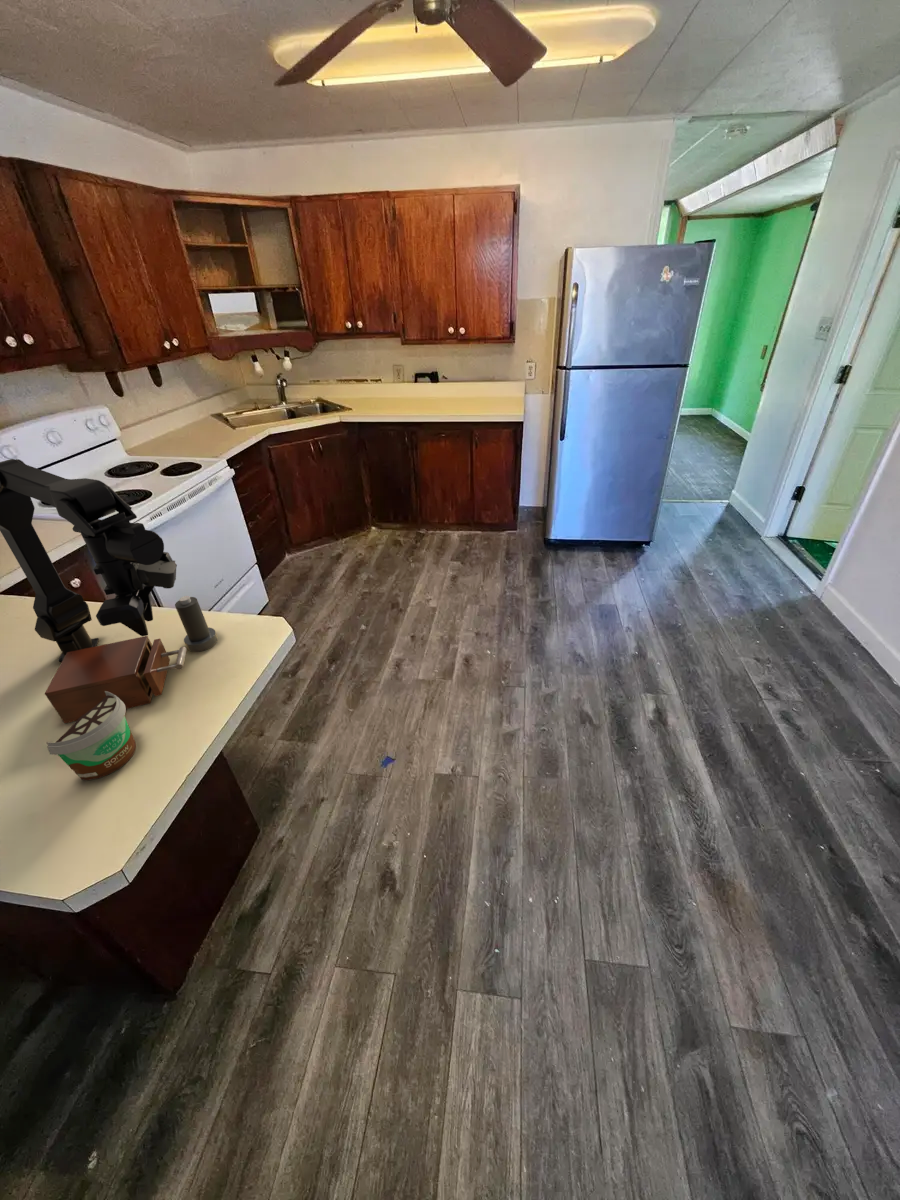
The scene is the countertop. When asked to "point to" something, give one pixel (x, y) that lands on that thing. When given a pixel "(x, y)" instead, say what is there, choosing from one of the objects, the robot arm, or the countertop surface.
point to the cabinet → (99, 678)
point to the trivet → (202, 642)
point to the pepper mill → (192, 618)
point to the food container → (97, 740)
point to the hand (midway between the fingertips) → (147, 627)
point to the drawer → (158, 666)
